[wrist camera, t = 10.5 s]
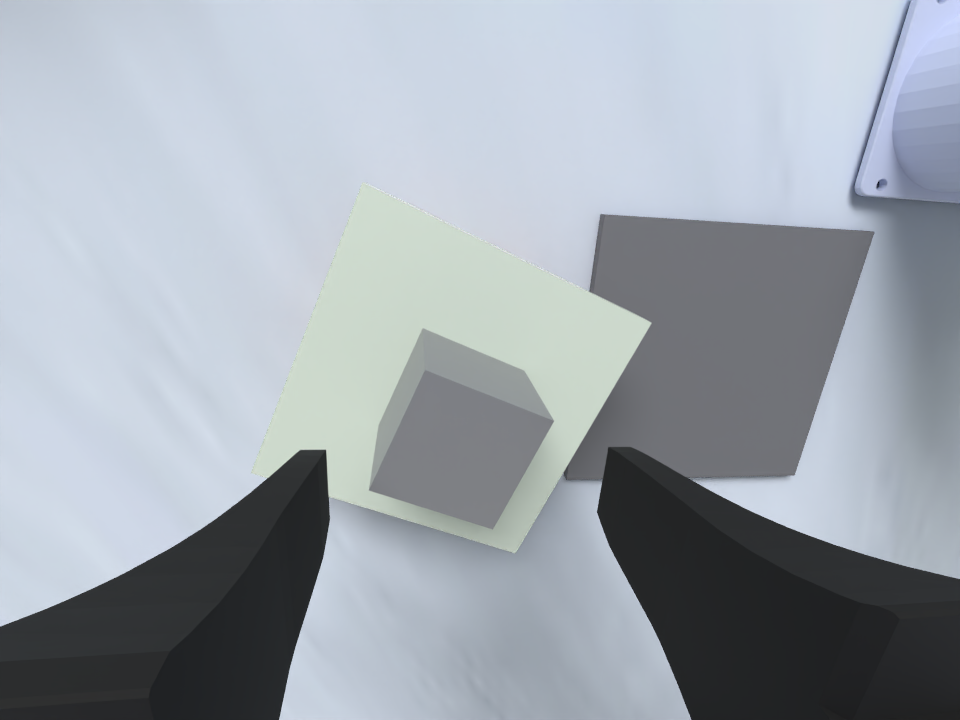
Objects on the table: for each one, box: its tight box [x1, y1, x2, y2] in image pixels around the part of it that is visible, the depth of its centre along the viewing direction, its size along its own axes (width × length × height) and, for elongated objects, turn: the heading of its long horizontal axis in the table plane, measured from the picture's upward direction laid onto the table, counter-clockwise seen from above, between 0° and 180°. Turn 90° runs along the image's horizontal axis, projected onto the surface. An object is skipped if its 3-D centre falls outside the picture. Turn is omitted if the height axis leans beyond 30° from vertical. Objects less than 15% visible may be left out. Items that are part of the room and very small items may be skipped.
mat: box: [564, 214, 874, 480], centre depth 23 cm, size 13×13×1 cm
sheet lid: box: [251, 182, 651, 554], centre depth 16 cm, size 11×11×5 cm
